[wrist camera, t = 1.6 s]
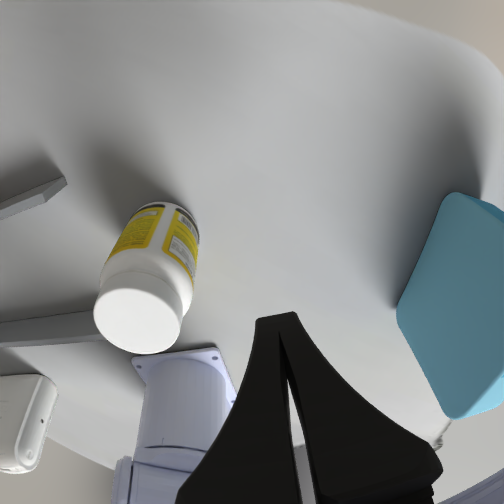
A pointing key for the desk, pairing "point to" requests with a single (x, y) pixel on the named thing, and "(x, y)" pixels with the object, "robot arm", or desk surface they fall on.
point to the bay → (50, 327)
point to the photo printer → (24, 420)
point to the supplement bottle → (148, 279)
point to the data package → (459, 307)
